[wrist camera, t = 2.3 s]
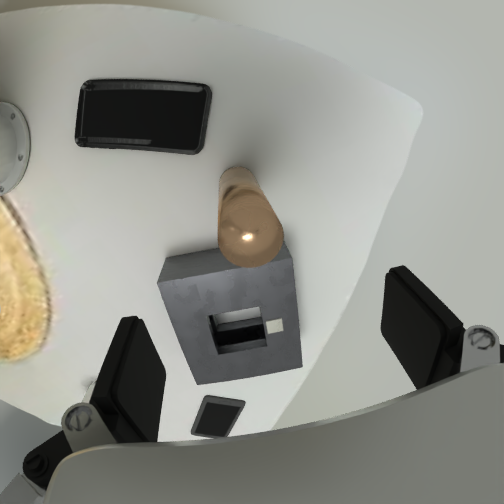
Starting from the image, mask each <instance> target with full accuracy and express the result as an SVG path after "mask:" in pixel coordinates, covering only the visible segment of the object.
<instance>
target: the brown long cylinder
mask: <svg viewBox="0 0 504 504" xmlns="http://www.w3.org/2000/svg"><path fill="white" fill-rule="evenodd" d="M283 238H284V234H283V228H282V225H281V223H280V221H279V219H278V218H277V216H276V214H275V212H274V211H273V209H272V207H271V205H270V204H269V202H268V200H267V198H266V197H265V195H264V193H263V191H262V190H261V188H260V186H259V185H258V183H257V181H256V179H255V178H254V176H253V174H252V173H251V172H250V171H249V170H247V169H245V168H243V167H232V168H230V169H228V170H226V171H225V172H224V173H223V174H222V176H221V178H220V181H219V204H218V245H219V248H220V250H221V252H222V254H223V255H224V257H225V258H226V259H227V260H228V261H230V262H231V263H233V264H235V265H237V266H240V267H245V268H254V267H259V266H262V265H264V264H266V263H268V262H270V261H271V260H272V259H273V258H274V257H275V256H276V255H277V254H278V252H279V251H280V249H281V247H282V244H283Z"/></svg>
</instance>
